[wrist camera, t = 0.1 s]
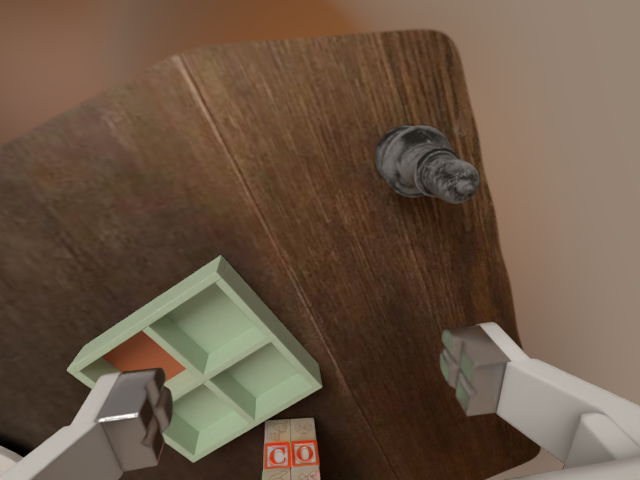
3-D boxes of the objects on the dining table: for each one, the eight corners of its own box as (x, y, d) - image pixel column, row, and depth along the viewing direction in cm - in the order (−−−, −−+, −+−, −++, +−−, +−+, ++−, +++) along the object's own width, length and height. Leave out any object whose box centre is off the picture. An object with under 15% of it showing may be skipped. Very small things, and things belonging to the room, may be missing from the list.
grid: (83, 345, 35) (65, 370, 32) (221, 254, 33) (216, 271, 30) (199, 435, 42) (193, 462, 39) (318, 364, 40) (322, 387, 37)
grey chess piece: (401, 199, 33) (465, 252, 22) (358, 159, 31) (404, 197, 20) (446, 151, 32) (537, 183, 21) (404, 107, 30) (480, 116, 19)
